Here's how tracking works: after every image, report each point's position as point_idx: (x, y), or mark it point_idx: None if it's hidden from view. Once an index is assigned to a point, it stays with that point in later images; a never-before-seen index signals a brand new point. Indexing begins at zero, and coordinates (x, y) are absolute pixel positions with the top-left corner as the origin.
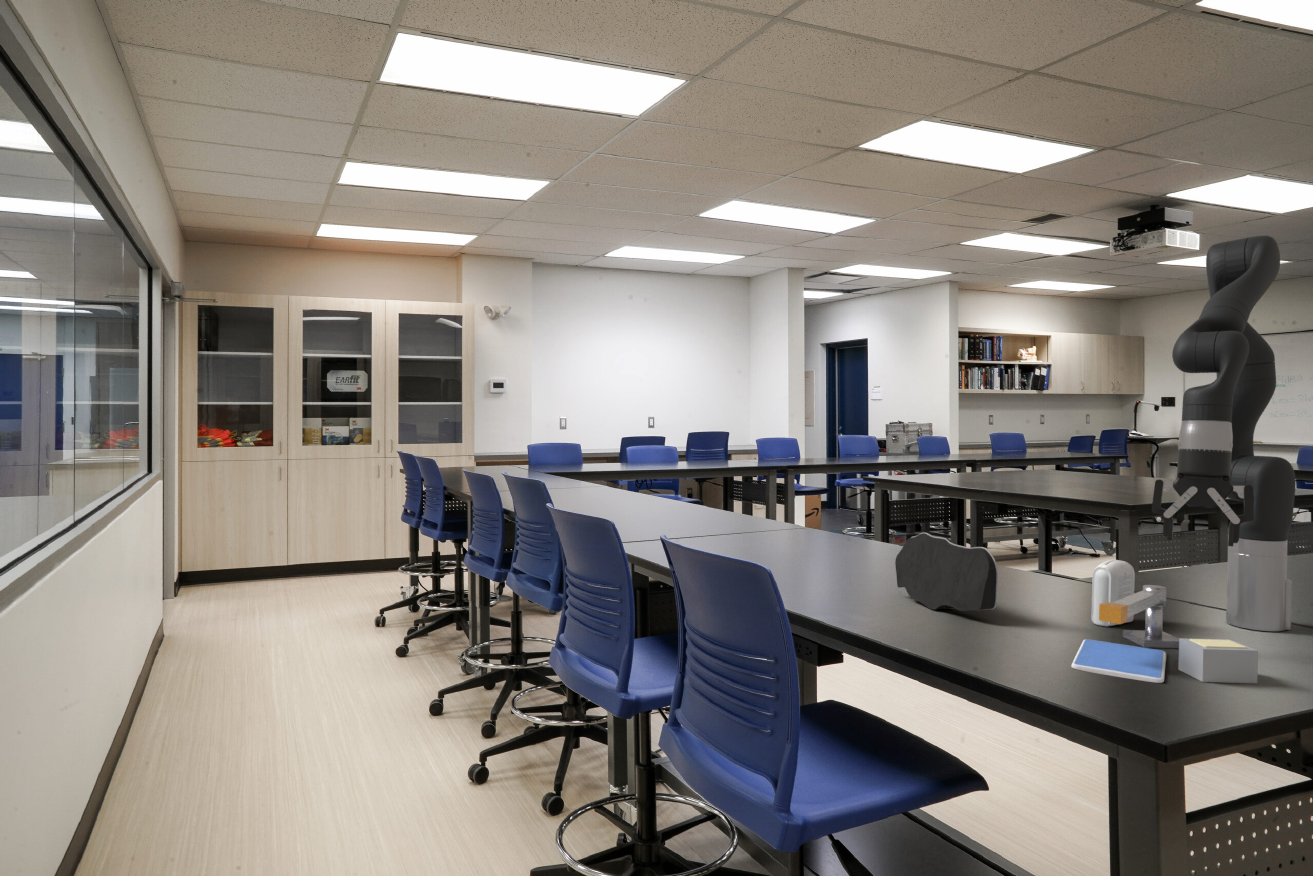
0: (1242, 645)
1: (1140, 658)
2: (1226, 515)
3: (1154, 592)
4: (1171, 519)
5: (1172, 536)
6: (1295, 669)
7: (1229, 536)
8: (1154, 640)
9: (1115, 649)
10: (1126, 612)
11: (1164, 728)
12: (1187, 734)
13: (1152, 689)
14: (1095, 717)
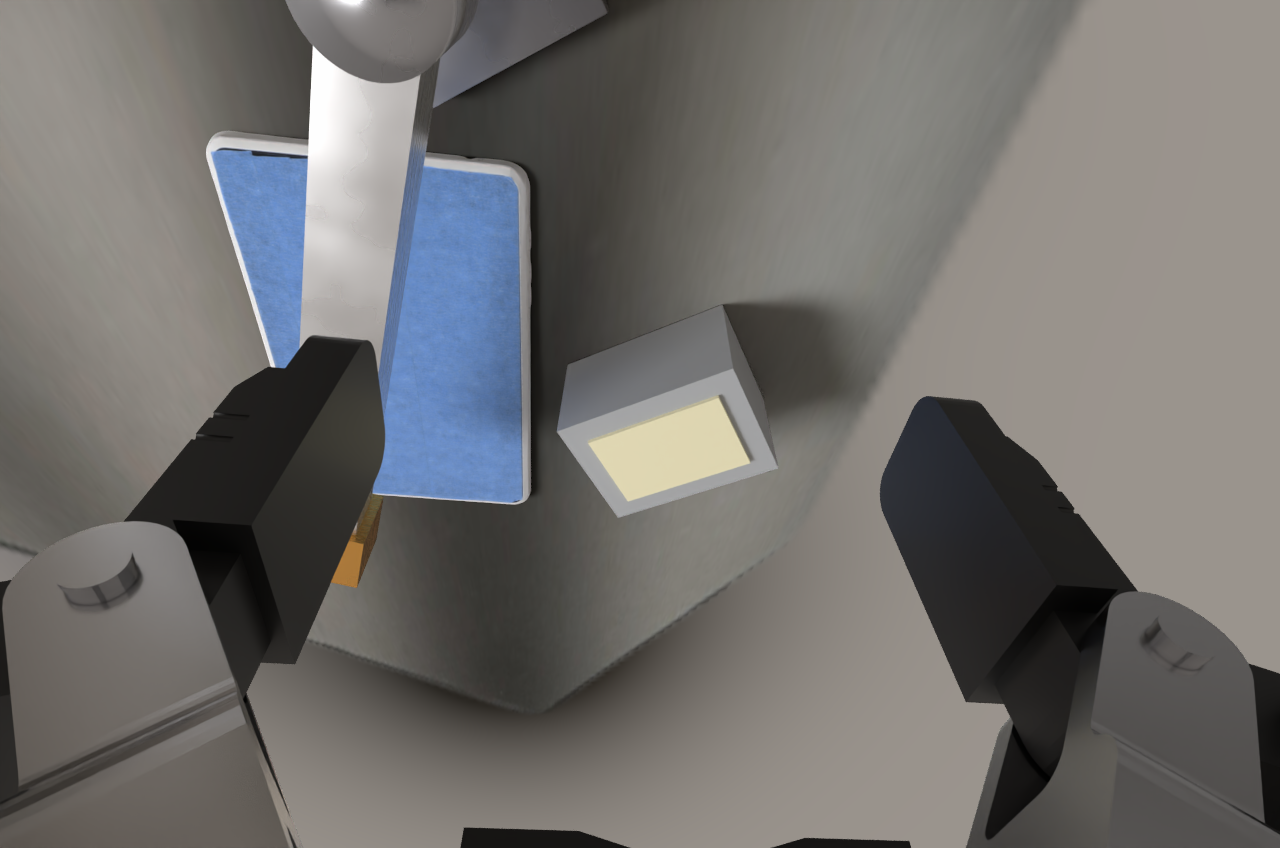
0: (748, 430)
1: (454, 344)
2: (976, 826)
3: (394, 126)
4: (273, 655)
5: (364, 405)
6: (977, 158)
7: (915, 569)
8: (472, 79)
9: None
10: (370, 530)
11: (538, 682)
12: (569, 688)
13: (509, 539)
14: (439, 681)
